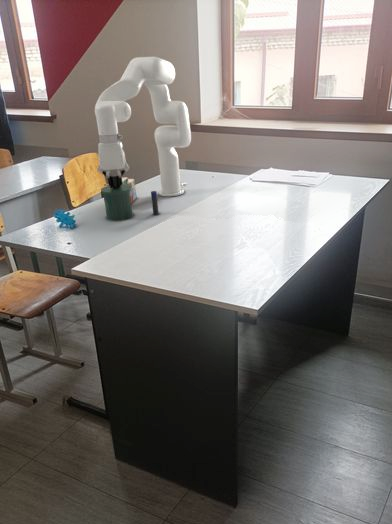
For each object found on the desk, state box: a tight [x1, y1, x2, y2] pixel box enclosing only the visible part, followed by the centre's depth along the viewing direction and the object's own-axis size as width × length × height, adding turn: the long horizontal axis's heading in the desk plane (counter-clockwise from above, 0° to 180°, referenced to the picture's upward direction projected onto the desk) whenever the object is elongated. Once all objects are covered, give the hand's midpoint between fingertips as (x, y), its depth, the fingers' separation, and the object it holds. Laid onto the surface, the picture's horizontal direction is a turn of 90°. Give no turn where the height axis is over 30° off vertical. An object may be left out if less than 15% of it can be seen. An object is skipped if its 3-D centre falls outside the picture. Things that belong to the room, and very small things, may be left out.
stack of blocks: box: [106, 176, 138, 204], centre depth 240 cm, size 21×6×12 cm, turn 168°
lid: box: [100, 174, 132, 195], centre depth 206 cm, size 13×13×7 cm
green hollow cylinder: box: [102, 192, 134, 222], centre depth 224 cm, size 12×12×12 cm
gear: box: [53, 208, 77, 230], centre depth 218 cm, size 11×6×10 cm
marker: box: [150, 190, 160, 216], centre depth 225 cm, size 2×2×10 cm
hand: (115, 186), depth 206 cm, fingers closed on lid, 2 cm apart
